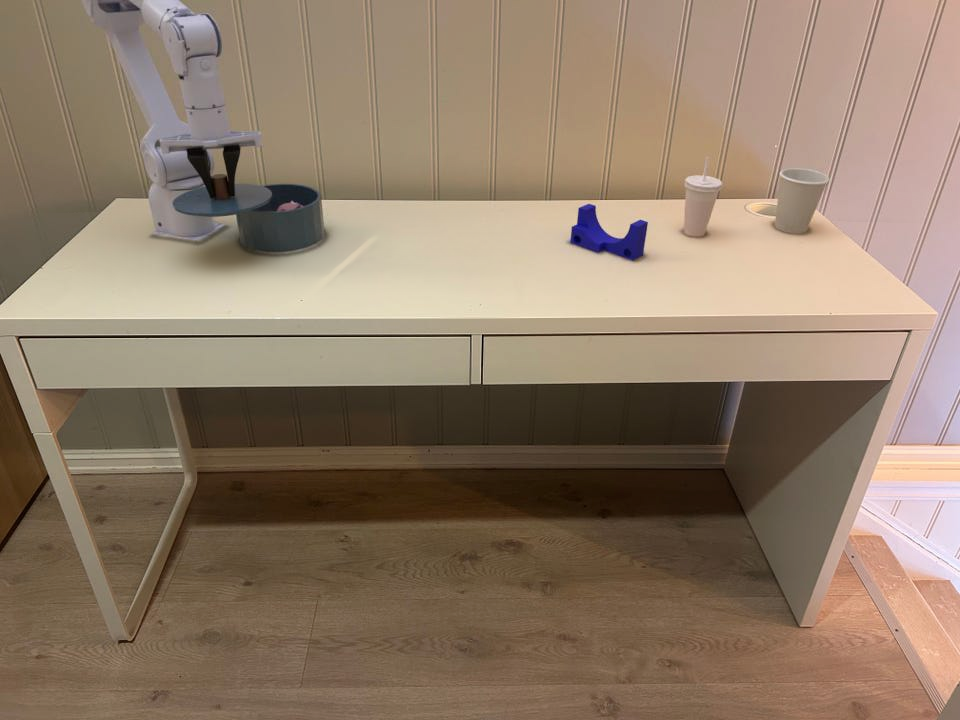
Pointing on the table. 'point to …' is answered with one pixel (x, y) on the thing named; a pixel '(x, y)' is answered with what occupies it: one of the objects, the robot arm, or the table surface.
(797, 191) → the dixie cup
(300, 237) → the tin
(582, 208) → the blue cradle bracket
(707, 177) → the smoothie
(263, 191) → the lid
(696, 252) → the table surface
